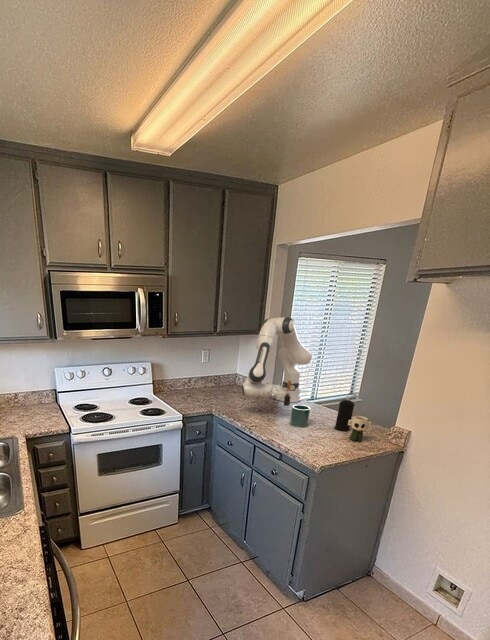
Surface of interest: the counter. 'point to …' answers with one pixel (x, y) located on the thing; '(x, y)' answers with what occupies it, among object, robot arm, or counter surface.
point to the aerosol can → (344, 414)
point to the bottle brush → (287, 395)
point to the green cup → (300, 415)
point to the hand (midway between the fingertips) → (289, 391)
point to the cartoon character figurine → (358, 427)
